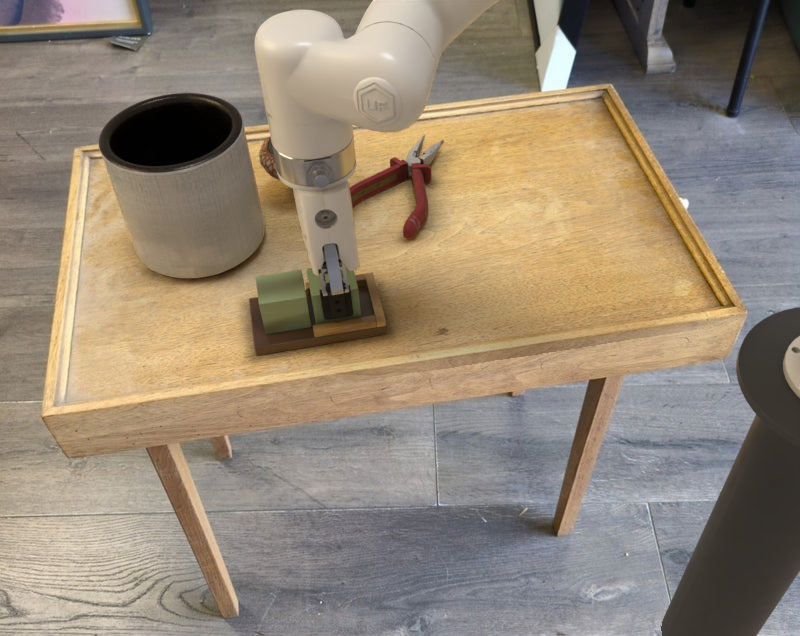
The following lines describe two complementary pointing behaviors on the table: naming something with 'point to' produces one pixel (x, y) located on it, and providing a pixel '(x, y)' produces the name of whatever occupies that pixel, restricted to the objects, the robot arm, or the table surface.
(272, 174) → the acorn
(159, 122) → the planter
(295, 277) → the brown wooden rectangular tray
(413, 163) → the pliers
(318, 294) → the block
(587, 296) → the table surface
